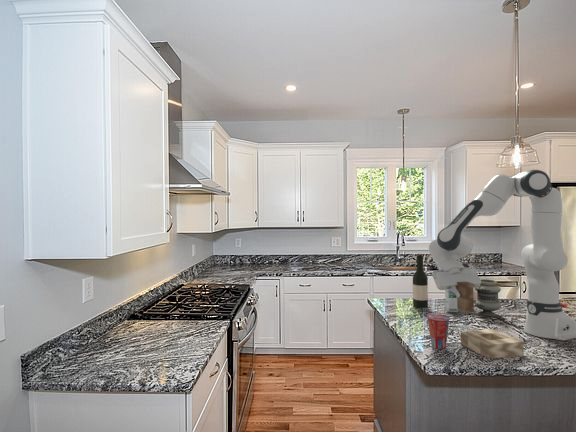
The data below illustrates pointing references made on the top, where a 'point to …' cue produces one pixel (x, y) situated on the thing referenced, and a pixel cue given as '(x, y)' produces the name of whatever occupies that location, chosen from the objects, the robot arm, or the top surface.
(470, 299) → the walnut peg
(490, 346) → the socket block
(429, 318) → the cup
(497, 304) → the grey ceramic vase
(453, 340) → the top surface
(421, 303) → the wine bottle
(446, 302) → the syrup box
